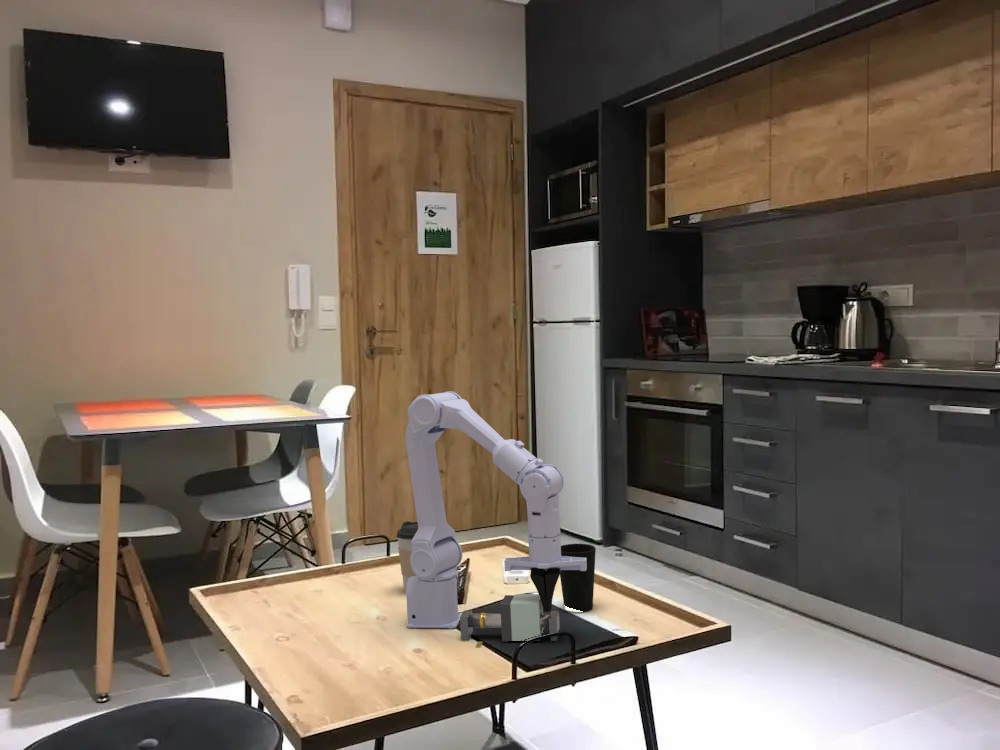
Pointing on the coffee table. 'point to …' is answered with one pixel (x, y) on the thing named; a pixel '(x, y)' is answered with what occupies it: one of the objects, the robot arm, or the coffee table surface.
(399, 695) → the coffee table surface
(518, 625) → the sleeve
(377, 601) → the coffee table surface
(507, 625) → the dark grey flat block
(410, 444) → the robot arm
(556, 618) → the grey shaft
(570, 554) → the cup
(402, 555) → the coffee cup
